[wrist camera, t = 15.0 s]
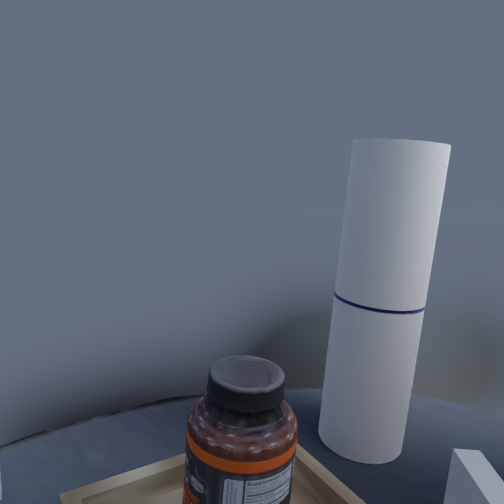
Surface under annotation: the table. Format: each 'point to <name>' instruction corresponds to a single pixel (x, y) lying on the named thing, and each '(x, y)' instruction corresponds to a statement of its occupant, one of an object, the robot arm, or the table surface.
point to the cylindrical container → (380, 294)
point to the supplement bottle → (241, 436)
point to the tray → (172, 485)
